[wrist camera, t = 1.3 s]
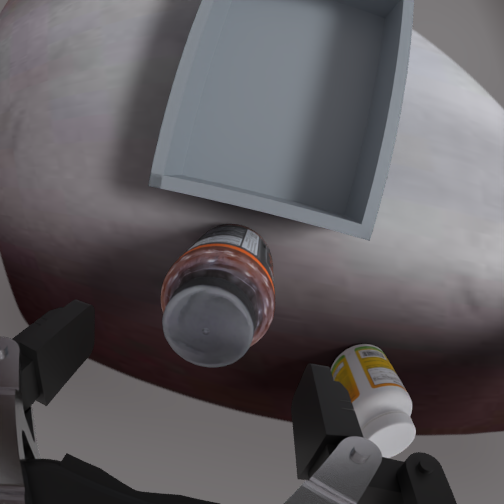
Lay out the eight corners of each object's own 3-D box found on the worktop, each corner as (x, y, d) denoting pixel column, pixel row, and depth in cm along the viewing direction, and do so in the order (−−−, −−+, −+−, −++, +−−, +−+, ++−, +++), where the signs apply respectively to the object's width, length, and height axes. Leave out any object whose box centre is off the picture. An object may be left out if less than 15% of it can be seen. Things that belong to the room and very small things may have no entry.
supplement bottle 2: (342, 398, 26) (364, 475, 17) (319, 360, 25) (339, 441, 16) (392, 372, 26) (430, 442, 16) (374, 331, 25) (418, 402, 15)
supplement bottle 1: (267, 302, 24) (266, 395, 13) (192, 292, 24) (142, 374, 13) (277, 227, 23) (287, 274, 12) (197, 217, 23) (139, 255, 12)
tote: (391, 19, 18) (414, -7, 13) (348, 227, 23) (369, 240, 18) (232, -21, 18) (226, -55, 13) (172, 183, 22) (148, 185, 18)
